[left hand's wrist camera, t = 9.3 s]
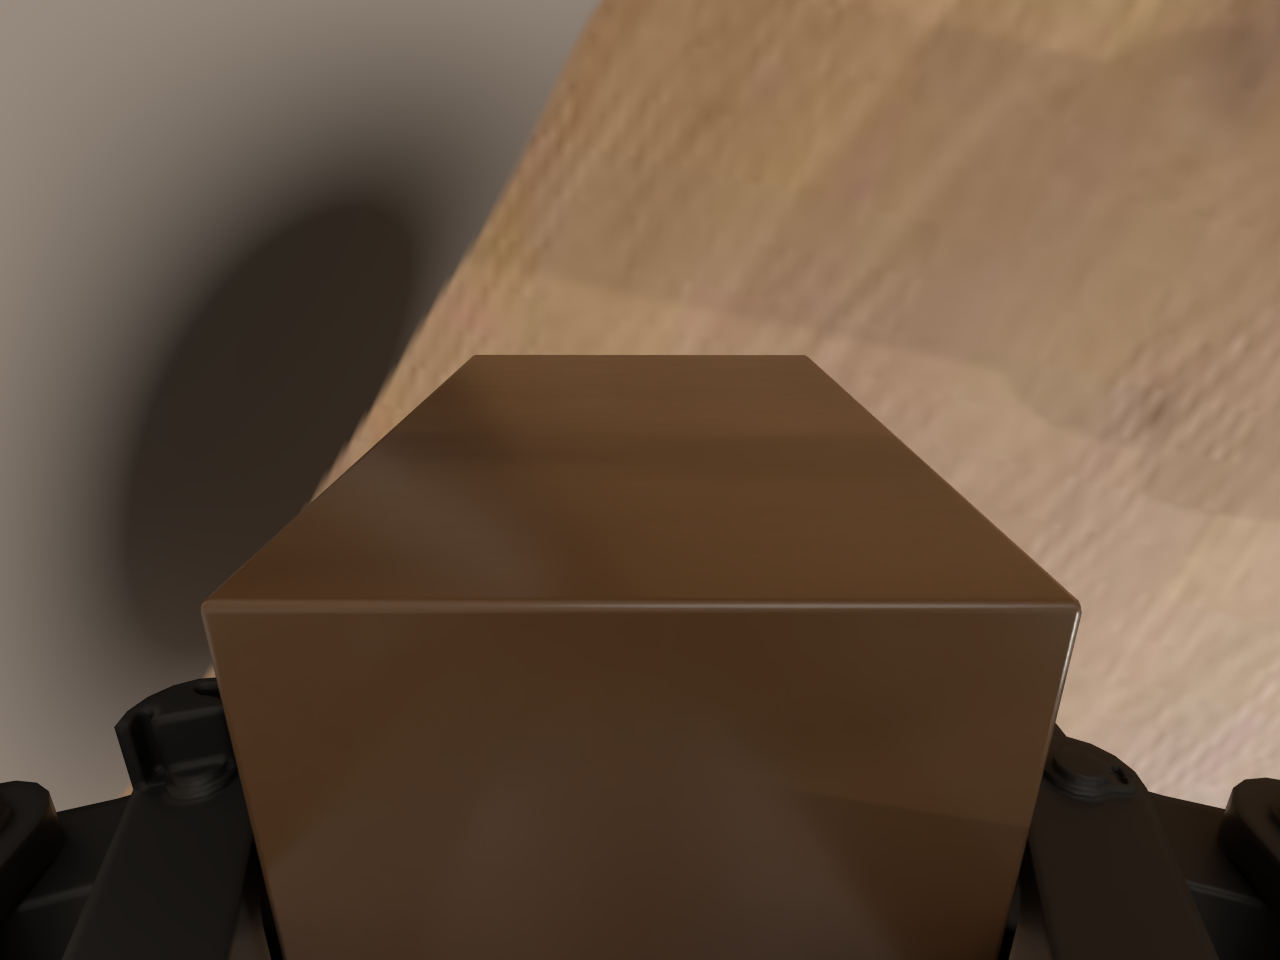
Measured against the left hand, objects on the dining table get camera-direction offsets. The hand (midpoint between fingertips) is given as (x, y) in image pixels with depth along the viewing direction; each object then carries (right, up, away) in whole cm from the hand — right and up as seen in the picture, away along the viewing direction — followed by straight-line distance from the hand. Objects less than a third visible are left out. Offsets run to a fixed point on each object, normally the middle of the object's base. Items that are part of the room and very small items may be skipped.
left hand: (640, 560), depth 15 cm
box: (0, -7, +3) cm, 7 cm away
